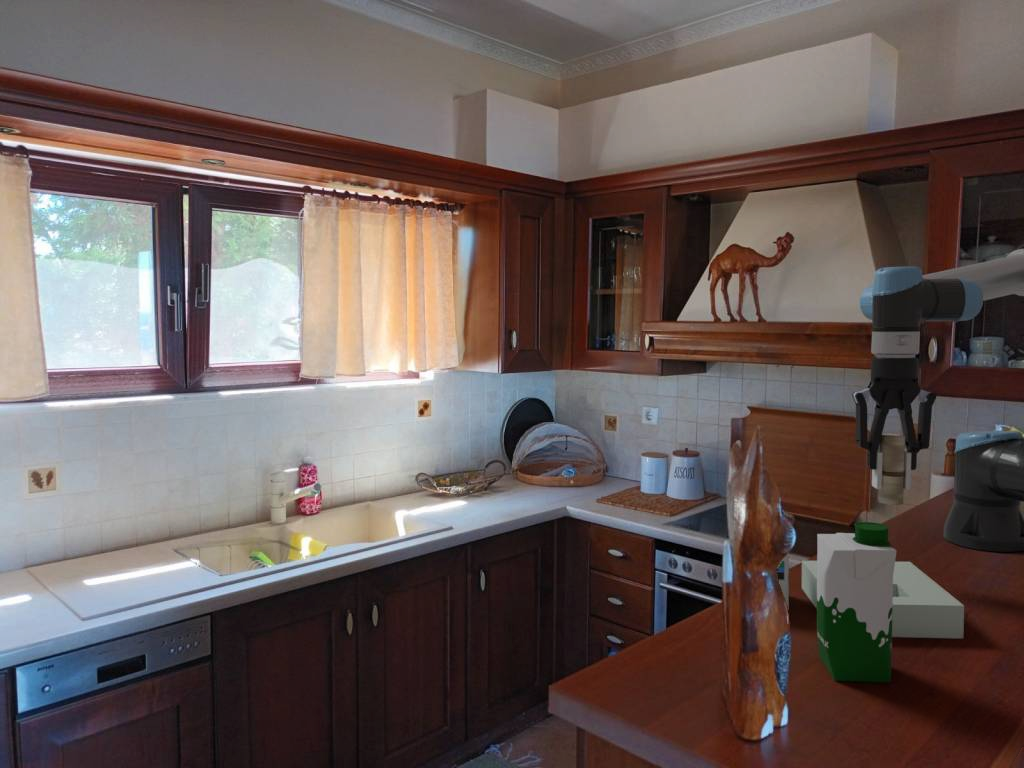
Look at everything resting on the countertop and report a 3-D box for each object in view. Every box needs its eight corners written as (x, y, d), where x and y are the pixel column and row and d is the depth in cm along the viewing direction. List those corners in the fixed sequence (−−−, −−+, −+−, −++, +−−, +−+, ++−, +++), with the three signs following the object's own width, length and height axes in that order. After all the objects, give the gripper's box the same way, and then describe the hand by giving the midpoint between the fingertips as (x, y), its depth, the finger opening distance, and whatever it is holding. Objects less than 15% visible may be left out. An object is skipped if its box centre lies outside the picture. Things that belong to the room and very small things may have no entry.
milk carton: (900, 686, 98) (903, 535, 97) (828, 684, 99) (829, 535, 98) (875, 655, 107) (877, 517, 105) (809, 654, 108) (810, 517, 106)
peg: (898, 499, 136) (900, 433, 135) (907, 505, 132) (909, 437, 131) (874, 499, 137) (876, 433, 136) (882, 504, 133) (884, 437, 132)
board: (909, 589, 132) (909, 561, 131) (963, 638, 112) (964, 605, 111) (801, 588, 134) (801, 560, 133) (836, 635, 114) (836, 603, 114)
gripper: (850, 357, 130) (846, 491, 132) (956, 356, 127) (951, 493, 129) (837, 355, 137) (834, 482, 139) (938, 354, 135) (933, 483, 137)
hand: (890, 487), depth 134 cm, fingers closed on peg, 4 cm apart
